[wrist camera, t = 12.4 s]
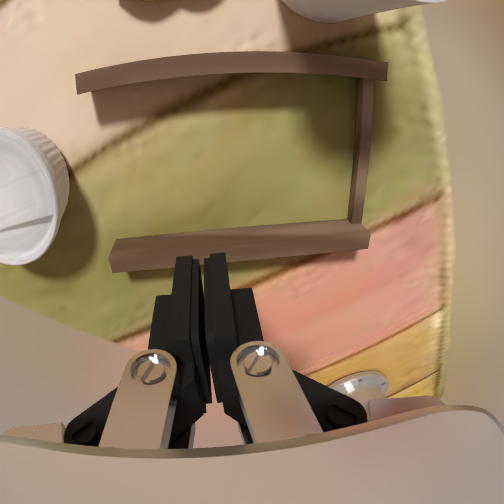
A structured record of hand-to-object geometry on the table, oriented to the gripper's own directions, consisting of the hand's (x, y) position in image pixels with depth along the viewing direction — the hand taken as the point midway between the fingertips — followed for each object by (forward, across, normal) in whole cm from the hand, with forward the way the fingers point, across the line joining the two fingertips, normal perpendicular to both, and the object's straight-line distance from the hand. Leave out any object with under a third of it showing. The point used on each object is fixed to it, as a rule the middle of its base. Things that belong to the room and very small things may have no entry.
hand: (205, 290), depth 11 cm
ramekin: (+16, +16, -1) cm, 23 cm away
